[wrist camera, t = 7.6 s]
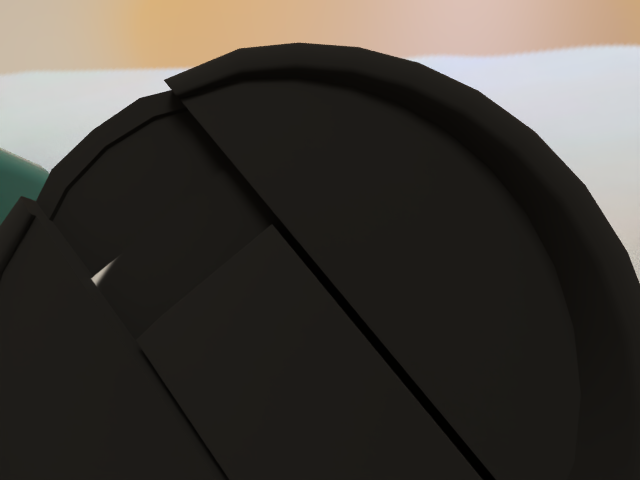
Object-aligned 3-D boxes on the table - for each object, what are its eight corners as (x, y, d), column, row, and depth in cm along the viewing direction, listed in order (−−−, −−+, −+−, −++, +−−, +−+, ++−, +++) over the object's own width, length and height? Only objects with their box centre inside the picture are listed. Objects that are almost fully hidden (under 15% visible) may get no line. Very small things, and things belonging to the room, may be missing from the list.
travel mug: (342, 421, 22) (175, 1273, 2) (258, 313, 23) (-308, 315, 4) (442, 336, 22) (1016, 508, 3) (353, 233, 24) (299, -171, 4)
